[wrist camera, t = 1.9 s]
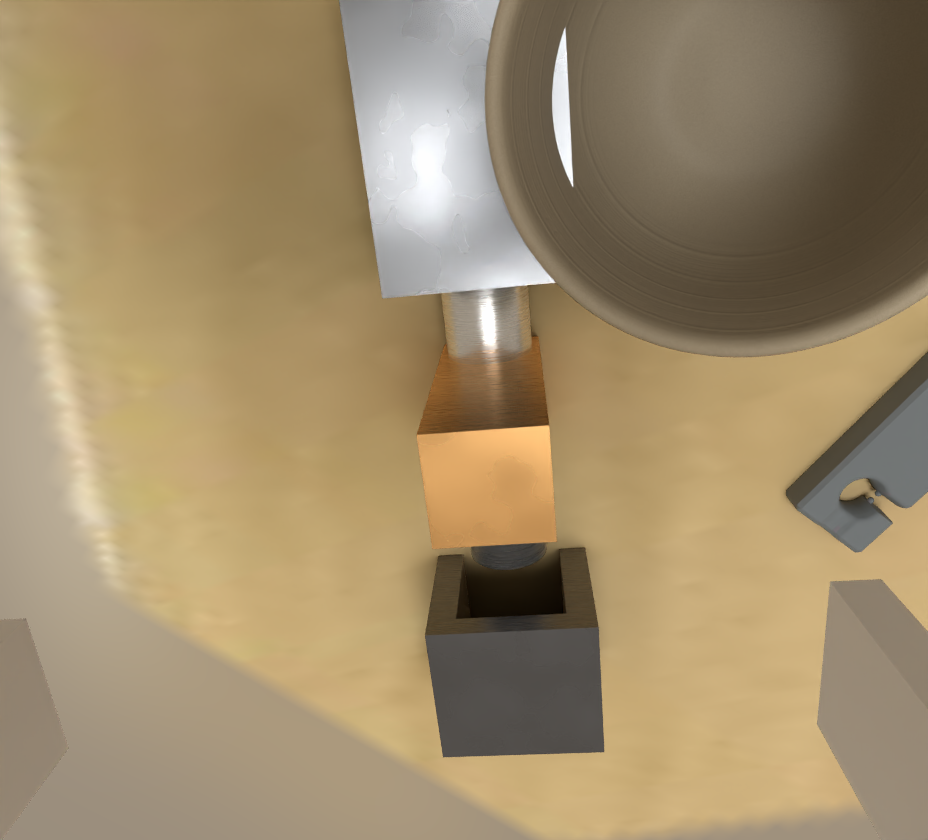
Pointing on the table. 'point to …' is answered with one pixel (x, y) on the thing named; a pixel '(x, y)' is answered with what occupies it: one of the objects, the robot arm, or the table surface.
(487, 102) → the planter
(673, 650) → the table surface
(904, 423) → the bracket
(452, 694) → the socket
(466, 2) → the grey block
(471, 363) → the orange and grey piece
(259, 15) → the table surface
